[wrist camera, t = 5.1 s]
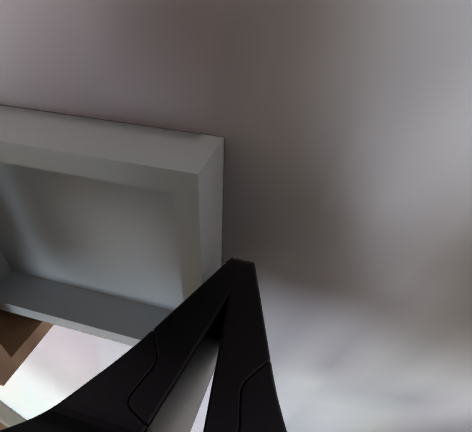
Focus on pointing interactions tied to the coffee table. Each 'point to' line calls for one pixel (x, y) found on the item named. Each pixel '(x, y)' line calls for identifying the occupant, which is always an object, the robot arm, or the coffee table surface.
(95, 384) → the robot arm
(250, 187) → the coffee table surface
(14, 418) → the grey picture frame
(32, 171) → the grey shallow tray
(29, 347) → the overhang
